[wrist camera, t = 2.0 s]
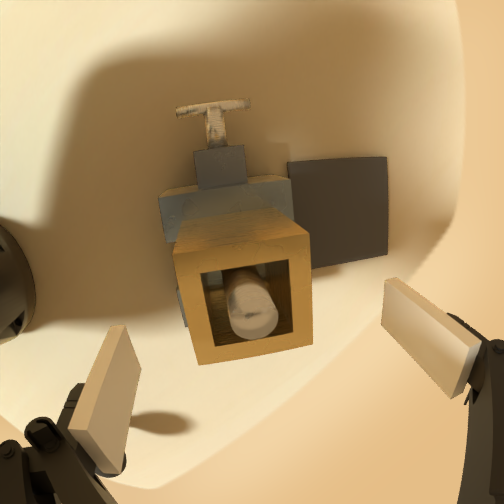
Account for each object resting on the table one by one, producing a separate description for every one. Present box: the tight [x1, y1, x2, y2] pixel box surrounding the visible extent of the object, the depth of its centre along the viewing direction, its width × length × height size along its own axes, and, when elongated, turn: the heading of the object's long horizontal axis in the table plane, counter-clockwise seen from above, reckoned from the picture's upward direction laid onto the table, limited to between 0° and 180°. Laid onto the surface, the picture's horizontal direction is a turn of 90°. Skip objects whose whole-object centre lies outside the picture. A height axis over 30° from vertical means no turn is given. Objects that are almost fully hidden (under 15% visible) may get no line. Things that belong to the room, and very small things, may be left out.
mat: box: [287, 157, 388, 269], centre depth 30 cm, size 11×11×1 cm
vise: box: [158, 98, 294, 340], centre depth 21 cm, size 10×18×16 cm, turn 7°
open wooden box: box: [172, 207, 313, 365], centre depth 20 cm, size 7×7×8 cm
